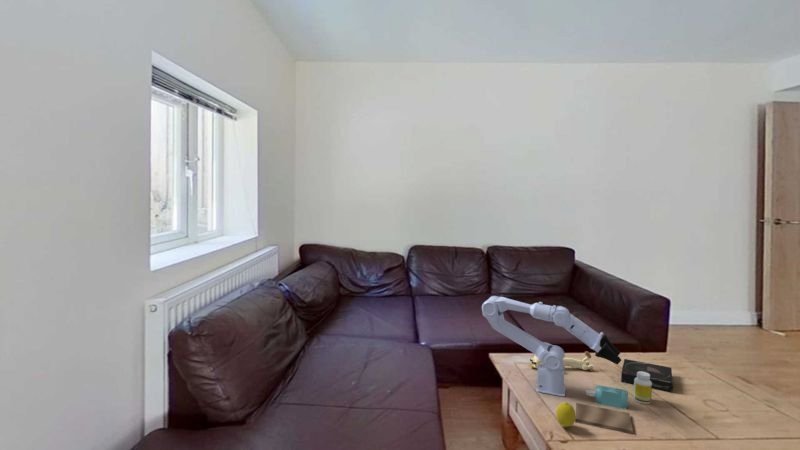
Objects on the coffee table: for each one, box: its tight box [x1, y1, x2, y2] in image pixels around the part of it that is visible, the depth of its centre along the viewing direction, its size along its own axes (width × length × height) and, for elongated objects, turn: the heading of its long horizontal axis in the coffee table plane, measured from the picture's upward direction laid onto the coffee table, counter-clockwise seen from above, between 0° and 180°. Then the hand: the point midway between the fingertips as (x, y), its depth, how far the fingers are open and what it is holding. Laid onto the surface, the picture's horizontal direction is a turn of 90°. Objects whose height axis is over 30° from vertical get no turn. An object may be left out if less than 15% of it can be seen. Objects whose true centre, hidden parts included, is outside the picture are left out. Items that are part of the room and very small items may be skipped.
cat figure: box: [528, 350, 594, 373], centre depth 170 cm, size 10×9×25 cm
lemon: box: [555, 401, 576, 429], centre depth 127 cm, size 6×6×8 cm
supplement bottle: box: [633, 371, 653, 405], centre depth 143 cm, size 5×5×10 cm
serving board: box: [574, 402, 634, 435], centre depth 131 cm, size 16×11×1 cm
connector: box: [585, 385, 629, 410], centre depth 141 cm, size 13×4×5 cm, turn 65°
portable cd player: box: [620, 358, 673, 394], centre depth 160 cm, size 16×17×4 cm
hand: (619, 358), depth 140 cm, fingers open, 7 cm apart
